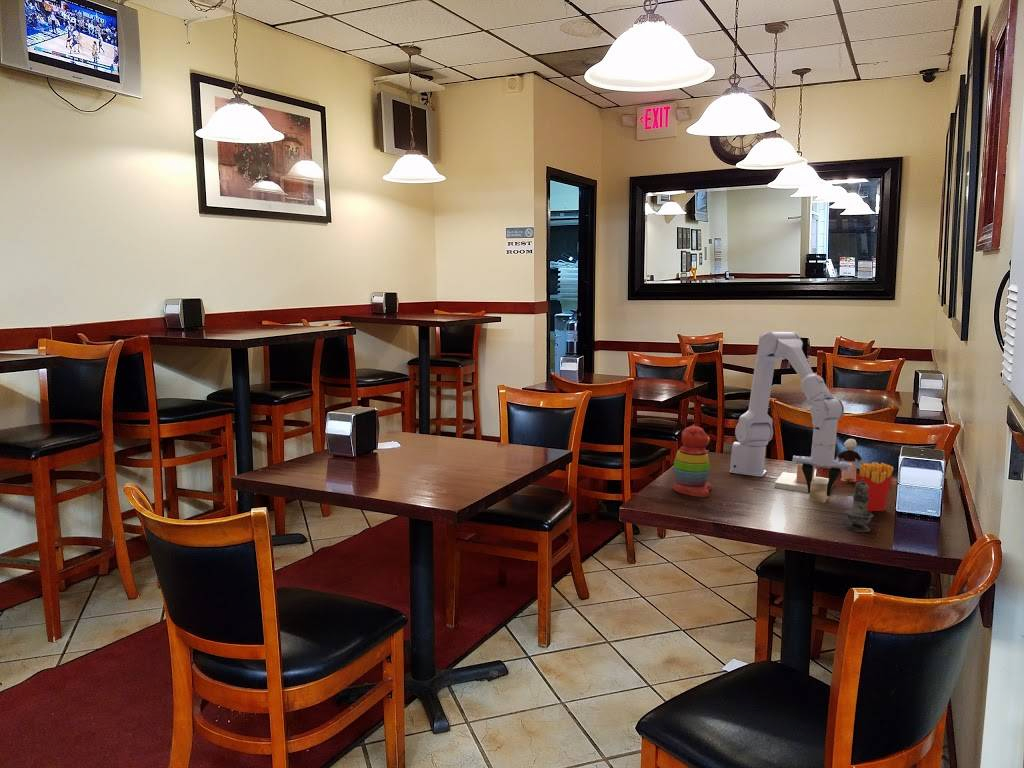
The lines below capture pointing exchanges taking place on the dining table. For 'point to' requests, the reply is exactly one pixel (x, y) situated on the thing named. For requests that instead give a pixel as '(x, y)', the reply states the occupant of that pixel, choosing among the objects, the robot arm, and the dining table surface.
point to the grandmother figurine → (849, 460)
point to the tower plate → (791, 482)
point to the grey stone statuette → (859, 509)
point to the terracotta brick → (802, 474)
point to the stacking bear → (692, 463)
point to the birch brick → (819, 490)
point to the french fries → (876, 484)
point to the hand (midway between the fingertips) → (819, 493)
